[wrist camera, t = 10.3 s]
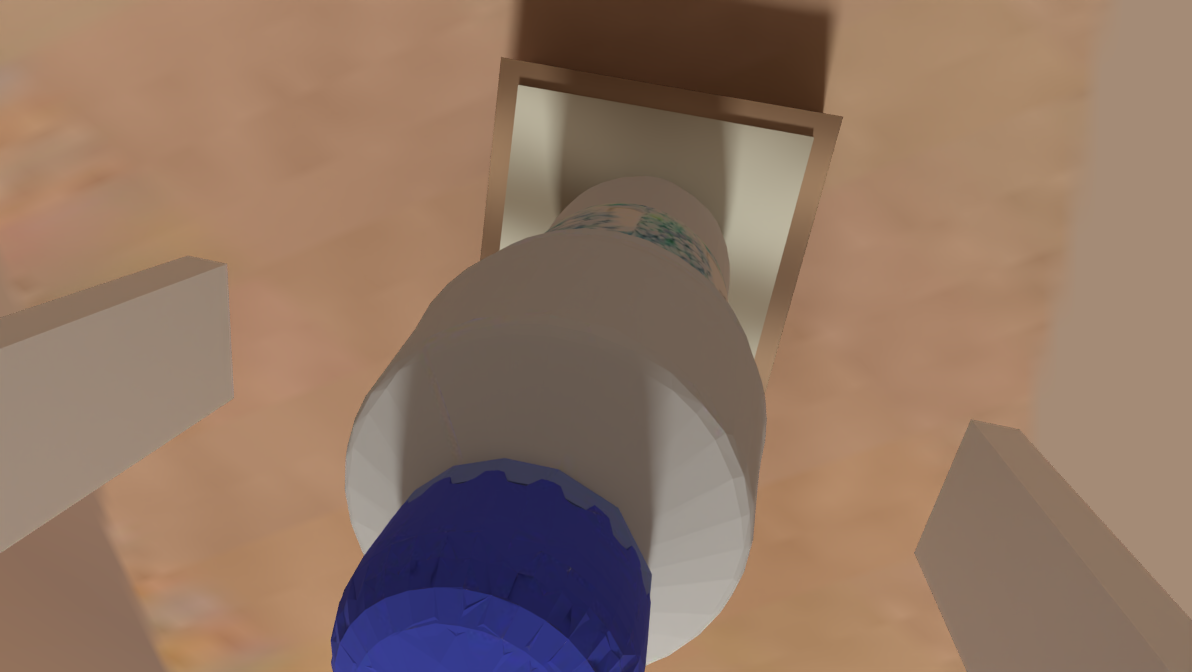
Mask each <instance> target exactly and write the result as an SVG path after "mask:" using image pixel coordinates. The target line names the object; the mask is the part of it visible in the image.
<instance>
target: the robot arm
mask: <svg viewBox="0 0 1192 672" xmlns="http://www.w3.org/2000/svg"><path fill="white" fill-rule="evenodd" d="M233 398H234V389H233V370H232V351H231V331H230V312H229V293H228V273H227V264H225V263H221V262H216V261H211V260H206V259H202V258H197V257H192V256H185V257H182V258H179V259H176V260H173V261H170V262H167V263H164V264H161V265H158V266H155V267H152V268H149V269H146V270H143V271H140V272H137V273H134V274H131V275H128V276H125V277H122V278H119V279H116V280H113V281H109V282H106V283H103V284H100V285H97V286H94V287H91V288H88V289H85V290H82V291H79V292H76V293H73V294H70V295H67V296H64V297H61V298H58V299H55V300H52V301H49V302H46V303H43V304H40V305H37V306H34V307H31V308H28V309H25V310H22V311H19V312H16V313H13V314H10V315H7V316H3V317H0V553H1V552H3V551H4V550H6V549H7V548H9V547H10V546H12V545H13V544H15V543H16V542H18V541H19V540H21V539H22V538H24V537H25V536H27V535H28V534H30V533H31V532H33V531H34V530H36V529H37V528H39V527H40V526H42V525H43V524H45V523H46V522H48V521H50V520H51V519H53V518H54V517H56V516H57V515H59V514H60V513H61V512H63V511H65V510H66V509H68V508H69V507H70V506H72V505H73V504H75V503H77V502H78V501H80V500H81V499H82V498H84V497H85V496H87V495H88V494H90V493H92V492H93V491H95V490H96V489H98V488H99V487H101V486H102V485H104V484H105V483H107V482H108V481H110V480H111V479H113V478H114V477H116V476H117V475H119V474H120V473H122V472H123V471H125V470H126V469H128V468H129V467H131V466H132V465H134V464H135V463H137V462H138V461H140V460H141V459H143V458H144V457H146V456H147V455H149V454H150V453H152V452H153V451H155V450H156V449H158V448H160V447H161V446H163V445H164V444H166V443H167V442H169V441H170V440H172V439H173V438H175V437H176V436H178V435H179V434H181V433H182V432H184V431H185V430H187V429H188V428H190V427H191V426H193V425H194V424H196V423H197V422H199V421H200V420H202V419H203V418H205V417H206V416H208V415H209V414H211V413H212V412H214V411H215V410H217V409H218V408H220V407H221V406H223V405H224V404H226V403H227V402H229V401H230V400H232V399H233ZM914 553H915V556H916V558H917V560H918V562H919V565H920V567H921V569H922V571H923V574H924V576H925V578H926V580H927V583H928V585H929V587H930V589H931V592H932V594H933V596H934V598H935V601H936V603H937V605H938V608H939V610H940V612H941V614H942V617H943V619H944V621H945V623H946V626H947V628H948V630H949V632H950V635H951V637H952V639H953V641H954V644H955V646H956V648H957V650H958V653H959V655H960V657H961V659H962V662H963V664H964V666H965V668H966V671H967V672H1192V620H1191V619H1190V617H1189V616H1188V615H1187V614H1186V613H1185V612H1184V611H1183V610H1182V609H1181V608H1180V607H1179V605H1178V604H1177V603H1176V602H1175V601H1174V600H1173V599H1172V598H1171V597H1170V595H1169V594H1168V593H1167V592H1166V591H1165V590H1164V589H1163V588H1162V587H1161V585H1160V584H1159V583H1158V582H1157V581H1156V580H1155V579H1154V578H1153V577H1152V576H1151V574H1150V573H1149V572H1148V571H1147V570H1146V569H1145V568H1144V567H1143V566H1142V564H1141V563H1140V562H1139V561H1138V560H1137V559H1136V558H1135V557H1134V556H1133V555H1132V554H1131V552H1130V551H1129V550H1128V549H1127V548H1126V547H1125V546H1124V545H1123V544H1122V543H1121V541H1120V540H1119V539H1118V538H1117V537H1116V536H1115V535H1114V534H1113V532H1112V531H1111V530H1110V529H1109V528H1108V527H1107V526H1106V525H1105V524H1104V523H1103V522H1102V520H1101V519H1100V518H1099V517H1098V516H1097V515H1096V514H1095V513H1094V512H1093V510H1092V509H1091V508H1090V507H1089V506H1088V505H1087V504H1086V503H1085V502H1084V500H1083V499H1082V498H1081V497H1080V496H1079V495H1078V494H1077V493H1076V492H1075V491H1074V489H1073V488H1072V487H1071V486H1070V485H1069V484H1068V483H1067V482H1066V481H1065V479H1064V478H1063V477H1062V476H1061V475H1060V474H1059V473H1058V472H1057V471H1056V470H1055V468H1054V467H1053V466H1052V465H1051V464H1050V463H1049V462H1048V461H1047V460H1046V459H1045V457H1043V455H1042V454H1041V453H1040V452H1039V451H1038V450H1037V449H1036V447H1035V446H1034V445H1033V444H1032V443H1031V442H1030V441H1029V440H1028V439H1027V438H1026V436H1025V435H1024V434H1023V433H1022V432H1021V431H1020V430H1019V429H1015V428H1010V427H1005V426H1000V425H995V424H991V423H986V422H981V421H976V420H972V419H971V421H970V423H969V425H968V428H967V430H966V432H965V435H964V437H963V439H962V442H961V444H960V446H959V449H958V451H957V453H956V456H955V458H954V461H953V463H952V465H951V468H950V470H949V472H948V475H947V477H946V479H945V482H944V484H943V486H942V489H941V491H940V493H939V496H938V498H937V501H936V503H935V505H934V508H933V510H932V512H931V515H930V517H929V519H928V522H927V524H926V526H925V529H924V531H923V533H922V536H921V538H920V541H919V543H918V545H917V548H916V550H915V552H914Z"/></svg>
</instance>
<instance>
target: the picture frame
mask: <svg viewBox="0 0 1192 672" xmlns="http://www.w3.org/2000/svg"><path fill="white" fill-rule="evenodd" d="M842 119H843V117H842V116H836V115H830V114H825V113H819V112H813V111H807V110H802V109H796V108H790V107H784V106H779V105H773V104H767V103H761V102H756V101H750V100H744V99H738V98H733V97H727V96H721V95H715V94H710V93H704V92H698V91H692V90H687V89H681V88H675V87H669V86H664V85H658V84H652V83H646V82H641V81H635V80H629V79H623V78H618V77H612V76H606V75H600V74H595V73H589V72H583V71H577V70H572V69H566V68H560V67H554V66H549V65H543V64H537V63H531V62H526V61H520V60H514V59H508V58H503V57H501V64H500V73H499V83H498V93H497V103H496V112H495V122H494V132H493V141H492V151H491V161H490V171H489V180H488V190H487V200H486V209H485V219H484V229H483V239H482V248H481V258H480V261H481V260H482V259H484V258H486V257H488V256H490V255H492V254H494V253H496V252H498V251H500V250H501V249H503V248H505V247H507V246H509V245H510V244H513V243H515V242H518V241H520V240H522V239H525V238H527V237H531V236H535V235H539V234H543V233H545V232H546V231H547V230H549V228H550V227H551V225H552V224H553V222H554V221H555V220H556V218H557V217H558V216H559V215H560V214H561V212H562V211H563V210H564V209H565V208H566V207H567V206H568V205H569V204H570V203H571V202H572V201H573V200H575V199H576V198H577V197H578V196H579V195H580V194H582V193H583V192H585V191H586V190H588V189H589V188H591V187H594V186H596V185H598V184H600V183H603V182H606V181H610V180H613V179H618V178H622V177H636V176H651V177H657V178H662V179H665V180H668V181H670V182H672V183H674V184H676V185H677V186H679V187H680V188H682V189H684V190H685V191H687V192H688V193H690V194H691V195H693V196H694V197H695V198H696V199H697V200H698V201H700V202H701V203H702V204H703V205H704V206H705V207H706V208H707V209H708V210H709V211H710V213H711V214H712V215H713V217H714V218H715V220H716V221H717V222H718V225H719V227H720V230H721V232H722V235H723V238H724V240H725V243H726V246H727V251H728V257H729V263H730V284H729V293H728V303H729V304H730V306H731V308H732V309H733V311H734V313H735V314H736V316H737V318H738V320H739V322H740V324H741V326H742V328H743V330H744V332H745V334H746V336H747V339H748V342H749V345H750V348H751V351H752V354H753V357H754V360H755V362H756V365H757V368H758V371H759V374H760V377H761V380H762V384H763V389H764V394H765V392H766V388H767V385H768V381H769V378H770V374H771V371H772V367H773V364H774V360H775V356H776V353H777V349H778V346H779V342H780V339H781V335H782V332H783V328H784V325H785V321H786V317H787V314H788V310H789V307H790V303H791V300H792V296H793V293H794V289H795V286H796V282H797V278H798V275H799V271H800V268H801V264H802V261H803V257H804V254H805V250H806V247H807V243H808V239H809V236H810V232H811V229H812V225H813V222H814V218H815V215H816V211H817V208H818V204H819V201H820V197H821V193H822V190H823V186H824V183H825V179H826V176H827V172H828V169H829V165H830V162H831V158H832V154H833V151H834V147H835V144H836V140H837V137H838V133H839V130H840V126H841V123H842Z"/></svg>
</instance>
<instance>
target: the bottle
mask: <svg viewBox="0 0 1192 672" xmlns="http://www.w3.org/2000/svg"><path fill="white" fill-rule="evenodd" d="M729 284H730V263H729V257H728V251H727V246H726V243H725V240H724V238H723V235H722V232H721V230H720V227H719V225H718V222H717V221H716V220H715V218H714V217H713V215H712V214H711V213H710V211H709V210H708V209H707V208H706V207H705V206H704V205H703V204H702V203H701V202H700V201H698V200H697V199H696V198H695V197H694V196H693V195H691V194H690V193H688V192H687V191H685V190H684V189H682V188H680V187H679V186H677V185H676V184H674V183H672V182H670V181H668V180H665V179H662V178H657V177H651V176H636V177H622V178H618V179H613V180H610V181H606V182H603V183H600V184H598V185H596V186H594V187H591V188H589V189H588V190H586V191H585V192H583V193H582V194H580V195H579V196H578V197H577V198H576V199H575V200H573V201H572V202H571V203H570V204H569V205H568V206H567V207H566V208H565V209H564V210H563V211H562V212H561V214H560V215H559V216H558V217H557V218H556V220H555V221H554V222H553V224H552V225H551V227H550V228H549V230H547V231H546V232H545V233H543V234H539V235H535V236H531V237H527V238H525V239H522V240H520V241H518V242H515V243H513V244H510V245H509V246H507V247H505V248H503V249H501V250H500V251H498V252H496V253H494V254H492V255H490V256H488V257H486V258H484V259H482V260H481V261H479V262H477V263H476V264H474V265H472V266H471V267H469V268H467V269H466V270H465V271H463V272H462V273H461V274H460V275H458V276H457V277H456V278H455V279H453V280H452V281H451V282H450V283H448V284H447V285H446V287H445V288H444V289H443V290H442V291H441V292H440V293H439V294H438V296H437V297H436V298H435V299H434V300H433V301H432V302H431V303H430V305H429V307H428V308H427V310H426V312H425V313H424V315H423V317H422V319H421V320H420V322H419V324H418V325H417V327H416V329H415V330H414V331H413V333H412V334H411V336H410V337H409V338H408V340H407V341H406V342H405V344H404V345H403V346H402V348H401V349H400V350H399V352H398V353H397V355H396V356H395V357H394V359H393V360H392V361H391V363H390V364H389V365H388V367H387V368H386V369H385V371H384V372H383V373H382V375H381V376H380V378H379V379H378V380H377V382H376V383H375V384H374V386H373V387H372V388H371V390H370V391H369V392H368V394H367V395H366V397H365V399H364V401H363V403H362V405H361V407H360V409H359V411H358V413H357V416H356V418H355V421H354V424H353V428H352V432H351V435H350V439H349V443H348V447H347V453H346V470H345V493H346V498H347V504H348V509H349V515H350V520H351V524H352V526H353V529H354V532H355V534H356V537H357V539H358V542H359V544H360V547H361V549H362V552H363V554H364V557H363V558H362V560H361V562H360V564H359V565H358V567H357V569H356V570H355V572H354V574H353V576H352V577H351V579H350V581H349V583H348V584H347V586H346V588H345V590H344V592H343V596H342V598H341V600H340V602H339V607H338V611H337V615H336V620H335V624H334V628H333V633H332V637H331V647H332V661H331V664H332V669H333V672H644V671H645V665H648V664H650V663H653V662H655V661H657V660H660V659H662V658H664V657H667V656H669V655H670V654H672V653H673V652H675V651H676V650H678V649H679V648H681V647H682V646H683V645H685V644H686V643H688V642H689V641H691V640H692V639H694V638H695V637H697V636H698V635H699V634H700V633H701V632H702V631H703V630H704V629H705V628H706V627H707V626H708V625H709V624H710V623H711V622H712V621H713V620H714V618H715V617H716V616H717V615H718V614H719V613H720V612H721V611H722V609H723V608H724V606H725V605H726V603H727V602H728V600H729V599H730V597H731V596H732V594H733V592H734V590H735V588H736V586H737V584H738V582H739V580H740V579H741V577H742V575H743V573H744V570H745V566H746V563H747V559H748V556H749V552H750V548H751V545H752V541H753V533H754V521H755V510H756V498H757V487H758V478H759V470H760V462H761V458H762V453H763V448H764V443H765V436H766V421H767V418H766V403H765V394H764V389H763V384H762V380H761V377H760V374H759V371H758V368H757V365H756V362H755V360H754V357H753V354H752V351H751V348H750V345H749V342H748V339H747V336H746V334H745V332H744V330H743V328H742V326H741V324H740V322H739V320H738V318H737V316H736V314H735V313H734V311H733V309H732V308H731V306H730V304H729V303H728V293H729Z"/></svg>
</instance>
